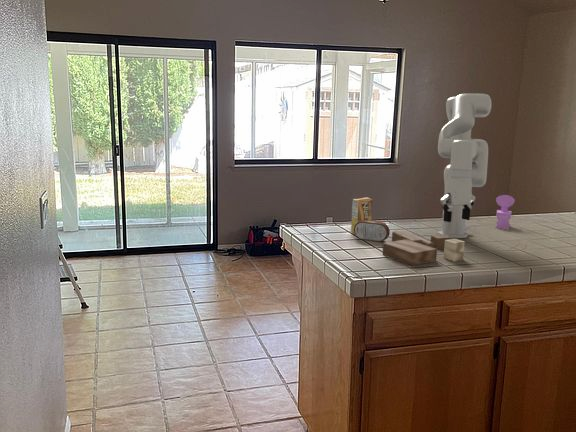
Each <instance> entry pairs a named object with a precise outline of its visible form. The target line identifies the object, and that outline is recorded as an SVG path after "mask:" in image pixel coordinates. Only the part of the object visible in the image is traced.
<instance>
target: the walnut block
mask: <svg viewBox="0 0 576 432" xmlns="http://www.w3.org/2000/svg"><path fill="white" fill-rule="evenodd" d="M437 252H438V249H436V248H432V247H429V246H426V245H423V244H420V243H417V242H414V241H410V240H407V239H405V240H399V241H393V240H391V241H387V242H382V255H383V256H386V257H387V258H390V257H391V259H393V260H396V259H397V260H396V261H398V260H399V262H401V261H402V262H401V263H405V264H406V263H407V265H409V264H410V265H409V266H417V265H416V264H418V265H422V264H421V263H423V264H427V263H426V262H428V263H433V262H432V261H434V262H436V261H437V257H438V256H437V255H438V253H437Z"/></svg>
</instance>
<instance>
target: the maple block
mask: <svg viewBox="0 0 576 432" xmlns="http://www.w3.org/2000/svg"><path fill="white" fill-rule="evenodd" d="M465 243H466V241H464V240H460V239H458V238H449V240H445V245H444V248H443V259H445V260H448V261H451V260H452V261H451V262H458V261H457V260H459V261H462V260H463V261H464V253H465Z"/></svg>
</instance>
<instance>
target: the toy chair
mask: <svg viewBox="0 0 576 432" xmlns="http://www.w3.org/2000/svg"><path fill="white" fill-rule="evenodd" d="M495 201H496V203H497V205H498V206H500V208H501V209H497V210H496V214H495V216H496V219H497V221H496V223H495V225H496V224H497V225H496V226H495V229H501V228H503V230H510V226H511V225H510V220H511V218H512V210H508V209H509V208H510V207H512V206H513V205H514V203H515V202H516V199H515V198H514V197H513V196H511V195H508V194H502V195H499V196H497V197H496V198H495Z"/></svg>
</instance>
